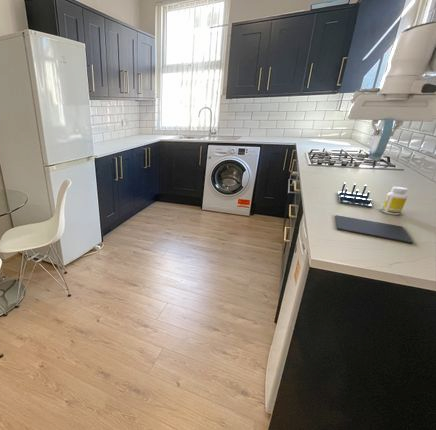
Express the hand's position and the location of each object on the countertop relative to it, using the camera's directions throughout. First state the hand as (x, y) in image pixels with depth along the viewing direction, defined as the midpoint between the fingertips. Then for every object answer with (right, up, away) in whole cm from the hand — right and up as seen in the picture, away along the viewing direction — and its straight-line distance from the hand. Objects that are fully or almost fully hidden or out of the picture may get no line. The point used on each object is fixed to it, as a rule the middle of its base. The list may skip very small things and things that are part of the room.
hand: (382, 135), depth 88 cm
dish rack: (+18, -19, +32) cm, 41 cm away
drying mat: (+1, -30, +5) cm, 30 cm away
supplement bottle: (+21, -24, +19) cm, 37 cm away
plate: (0, -7, +3) cm, 8 cm away
